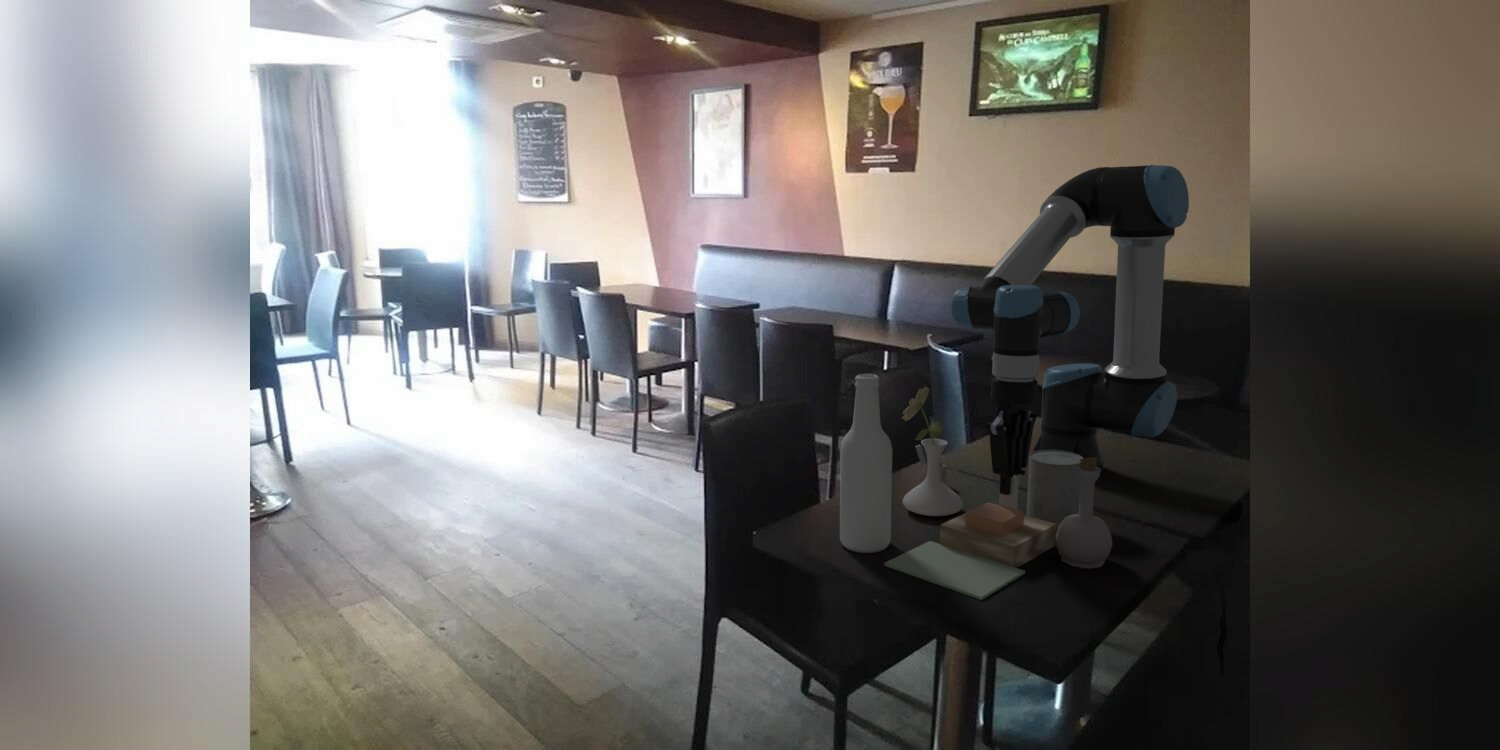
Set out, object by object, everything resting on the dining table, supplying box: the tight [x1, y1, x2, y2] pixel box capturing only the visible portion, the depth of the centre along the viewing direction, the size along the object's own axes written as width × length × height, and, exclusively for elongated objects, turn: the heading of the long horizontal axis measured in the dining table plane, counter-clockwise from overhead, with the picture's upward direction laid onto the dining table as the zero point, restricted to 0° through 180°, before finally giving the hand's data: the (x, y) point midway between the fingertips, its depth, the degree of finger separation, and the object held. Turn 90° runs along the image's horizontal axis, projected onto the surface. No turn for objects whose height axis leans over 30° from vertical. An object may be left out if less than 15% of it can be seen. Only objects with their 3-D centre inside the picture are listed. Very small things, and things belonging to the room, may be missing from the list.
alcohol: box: [839, 373, 893, 554], centre depth 150 cm, size 9×9×30 cm
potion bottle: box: [1055, 457, 1113, 570], centre depth 143 cm, size 9×9×18 cm
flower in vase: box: [901, 385, 964, 517], centre depth 165 cm, size 13×11×25 cm
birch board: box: [939, 512, 1057, 568], centre depth 150 cm, size 14×14×4 cm
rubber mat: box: [884, 540, 1026, 601], centre depth 142 cm, size 13×18×1 cm
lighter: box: [915, 443, 948, 486], centre depth 184 cm, size 7×2×8 cm, turn 42°
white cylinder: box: [1025, 450, 1084, 531], centre depth 161 cm, size 10×10×12 cm
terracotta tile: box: [965, 502, 1025, 537], centre depth 149 cm, size 7×7×2 cm
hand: (1007, 510), depth 152 cm, fingers closed
